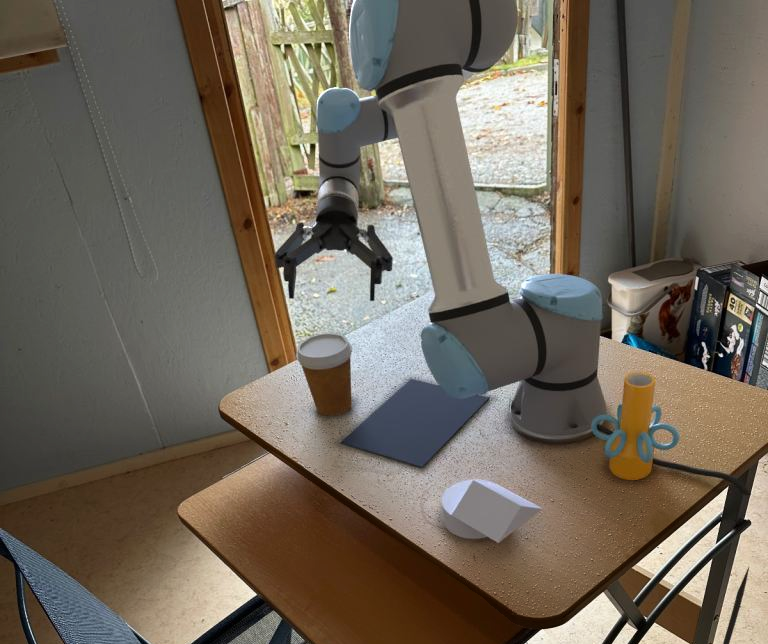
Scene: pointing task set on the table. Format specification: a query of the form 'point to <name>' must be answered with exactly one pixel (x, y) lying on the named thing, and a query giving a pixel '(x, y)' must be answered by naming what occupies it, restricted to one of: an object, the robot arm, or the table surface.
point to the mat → (414, 423)
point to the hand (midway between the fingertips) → (331, 293)
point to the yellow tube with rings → (634, 429)
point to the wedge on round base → (484, 510)
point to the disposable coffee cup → (327, 371)
